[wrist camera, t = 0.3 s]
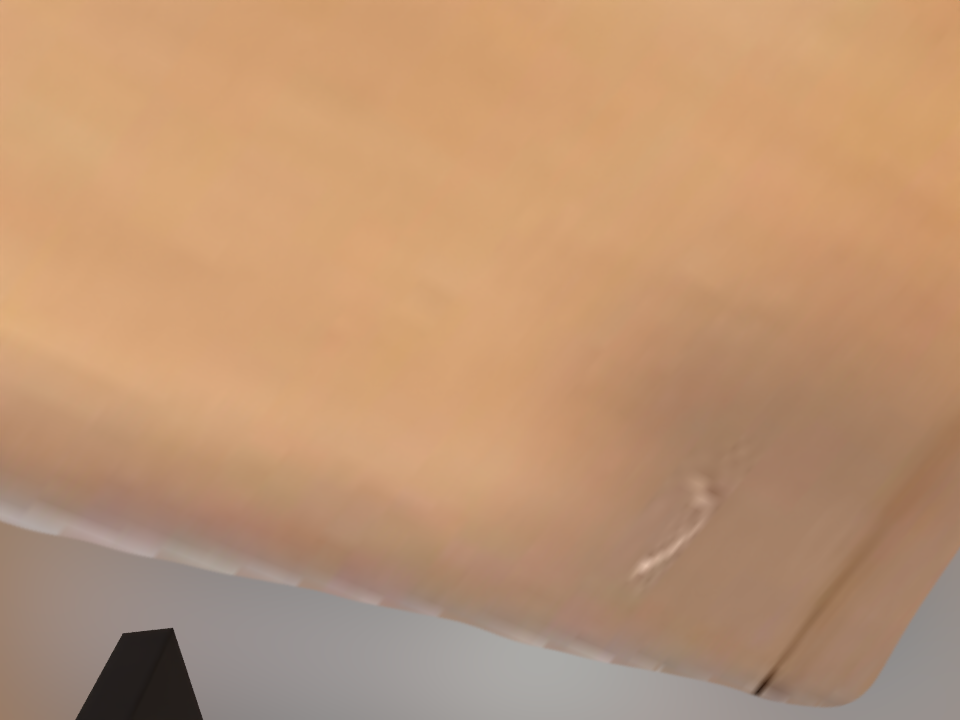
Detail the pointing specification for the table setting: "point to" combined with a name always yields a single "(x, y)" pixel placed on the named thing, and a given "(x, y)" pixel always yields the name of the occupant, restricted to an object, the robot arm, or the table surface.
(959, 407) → the table surface
